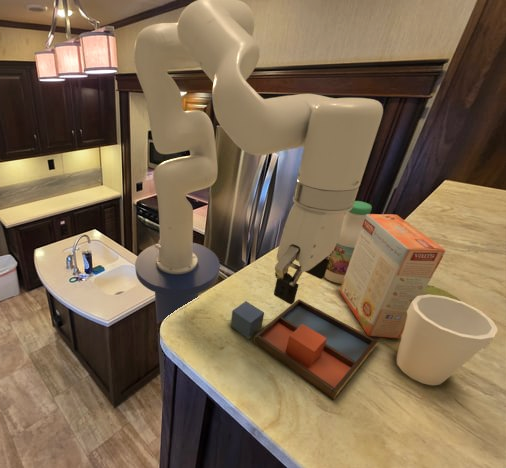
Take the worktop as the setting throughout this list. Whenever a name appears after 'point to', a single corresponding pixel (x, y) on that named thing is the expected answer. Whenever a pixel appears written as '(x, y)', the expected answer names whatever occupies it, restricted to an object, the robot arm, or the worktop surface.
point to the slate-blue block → (247, 319)
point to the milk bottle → (346, 242)
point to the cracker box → (388, 273)
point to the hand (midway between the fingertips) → (299, 286)
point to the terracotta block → (305, 345)
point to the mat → (438, 292)
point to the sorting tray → (334, 353)
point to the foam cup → (441, 337)
